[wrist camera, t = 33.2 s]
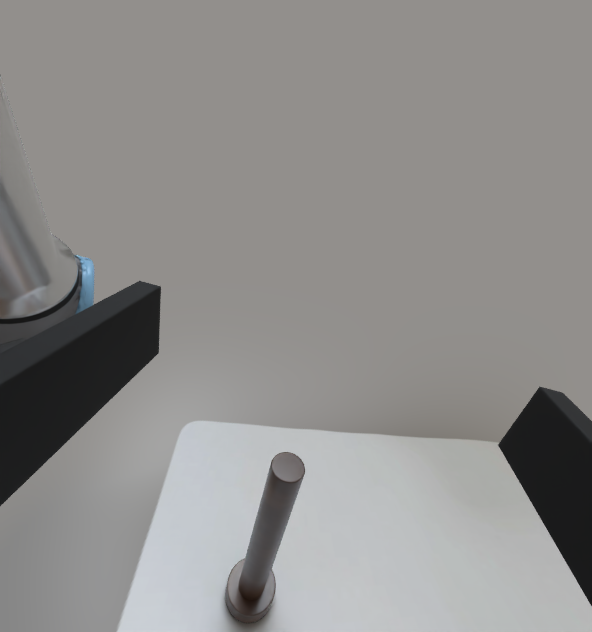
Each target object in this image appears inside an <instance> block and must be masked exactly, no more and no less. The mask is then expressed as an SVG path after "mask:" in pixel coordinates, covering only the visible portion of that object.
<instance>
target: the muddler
mask: <svg viewBox="0 0 592 632" xmlns="http://www.w3.org/2000/svg"><path fill="white" fill-rule="evenodd" d="M304 474H305V467H304V464H303V462H302V460H301V459H300V458H299V457H298V456H296V455H295V454H293V453H289V452H283V453H279V454H277V455H276V456H275V457H274V458H273V460H272V462H271V466H270V469H269V473H268V477H267V480H266V484H265V488H264V491H263V495H262V499H261V502H260V506H259V510H258V513H257V517H256V521H255V524H254V528H253V532H252V535H251V539H250V543H249V546H248V550H247V554H246V558H245V559H243V560H241V561H239V562H238V563H237V564H236V565H235V566H234V568H233V569H232V571H231V573H230V575H229V578H228V583H227V587H226V604H227V607H228V609H229V611H230V613H231V614H232V616H233V617H234V618H235V619H237V620H238V621H240V622H243V623H253V622H256V621H258V620H260V619H261V618H262V617H263V616H264V615H265V614H266V613H267V611H268V610H269V608H270V605H271V603H272V600H273V597H274V594H275V577H274V574H273V571H272V566H273V563H274V560H275V557H276V554H277V551H278V549H279V546H280V543H281V540H282V537H283V534H284V531H285V528H286V526H287V523H288V520H289V517H290V514H291V511H292V508H293V505H294V503H295V500H296V497H297V494H298V491H299V488H300V485H301V483H302V480H303V477H304Z"/></svg>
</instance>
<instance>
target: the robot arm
mask: <svg viewBox="0 0 592 632" xmlns="http://www.w3.org/2000/svg"><path fill="white" fill-rule="evenodd" d="M160 294H161V287H160V286H157V285H153V284H149V283H145V282H141V281H139V282H137V283H135V284H133V285H131V286H129V287H127V288H125V289H123V290H121V291H119V292H117V293H116V294H114V295H112V296H110V297H108V298H106V299H104V300H102V301H100V302H98V303H97V304H94V305H93V299H94V265H93V262H92V260H90V259H89V258H85V257H81V256H79V255H74V254H73V253H72V251H71V250H70V248H69V247H68V246H67V245H66V244H65V243H64V242H63V241H61V240H60V239H58V238H57V237H56V236H54V235H52V234H51V232H50V229H49V226H48V223H47V219H46V216H45V213H44V210H43V207H42V204H41V200H40V197H39V194H38V191H37V188H36V185H35V182H34V179H33V175H32V172H31V169H30V166H29V163H28V160H27V157H26V154H25V150H24V147H23V144H22V141H21V138H20V135H19V132H18V128H17V125H16V122H15V119H14V116H13V113H12V110H11V107H10V103H9V100H8V97H7V94H6V91H5V88H4V85H3V81H2V78H1V75H0V506H1V505H2V504H3V503H4V502H5V501H6V500H7V499H8V498H9V497H10V496H11V495H12V494H13V493H14V492H15V491H16V490H17V489H18V488H19V487H20V486H22V485H23V484H24V483H25V482H26V481H27V480H28V479H29V478H30V477H31V476H32V475H33V474H34V473H35V472H36V471H37V470H38V469H39V468H40V467H41V466H42V465H43V464H44V463H45V462H46V461H47V460H48V459H49V458H50V457H52V456H53V455H54V454H55V453H56V452H57V451H58V450H59V449H60V448H61V447H62V446H63V445H64V444H65V443H66V442H67V441H68V440H69V439H70V438H71V437H72V436H73V435H74V434H75V433H76V432H77V431H78V430H79V429H80V428H81V427H83V426H84V424H86V422H88V421H89V420H90V419H91V418H92V417H93V416H94V415H95V414H96V413H97V412H98V411H99V410H100V409H101V408H102V407H103V406H104V405H105V404H106V403H107V402H108V401H109V400H110V399H111V398H113V397H114V396H115V395H116V394H117V393H118V392H119V391H120V390H121V389H122V388H123V387H124V386H125V385H126V384H127V383H128V382H129V381H130V380H131V379H132V378H133V377H134V376H135V375H136V374H137V373H138V372H139V371H140V370H142V369H143V367H145V366H146V364H148V363H149V362H150V361H151V360H152V359H153V358H154V357H155V356H156V355H157V354H158V352H159V323H160V296H161V295H160ZM498 446H499V447H500V449H501V451H502V452H503V454H504V456H505V458H506V459H507V461H508V463H509V464H510V466H511V468H512V470H513V471H514V473H515V475H516V477H517V478H518V480H519V482H520V483H521V485H522V487H523V489H524V490H525V492H526V494H527V496H528V497H529V499H530V501H531V502H532V504H533V506H534V508H535V509H536V511H537V513H538V515H539V516H540V518H541V520H542V521H543V523H544V525H545V527H546V528H547V530H548V532H549V533H550V535H551V537H552V539H553V540H554V542H555V544H556V546H557V547H558V549H559V551H560V552H561V554H562V556H563V558H564V559H565V561H566V563H567V565H568V566H569V568H570V570H571V571H572V573H573V575H574V577H575V578H576V580H577V582H578V584H579V585H580V587H581V589H582V590H583V592H584V594H585V596H586V597H587V599H588V601H589V602H590V604H591V606H592V421H591V420H590V419H589V418H588V417H587V416H586V415H585V414H584V413H583V412H582V411H581V410H580V409H579V408H578V407H577V406H576V405H574V404H573V402H572V401H571V400H569V399H568V398H567V397H566V396H565V395H564V394H563V393H561V392H557V391H554V390H550V389H546V388H542V387H539V388H538V390H537V391H536V393H535V394H534V395H533V397H532V398H531V400H530V401H529V403H528V404H527V406H526V407H525V408H524V409H523V411H522V412H521V414H520V415H519V417H518V418H517V419H516V421H515V422H514V423H513V425H512V426H511V428H510V429H509V431H508V432H507V433H506V435H505V436H504V437H503V439H502V440H501V442H500V443H499V444H498Z"/></svg>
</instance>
